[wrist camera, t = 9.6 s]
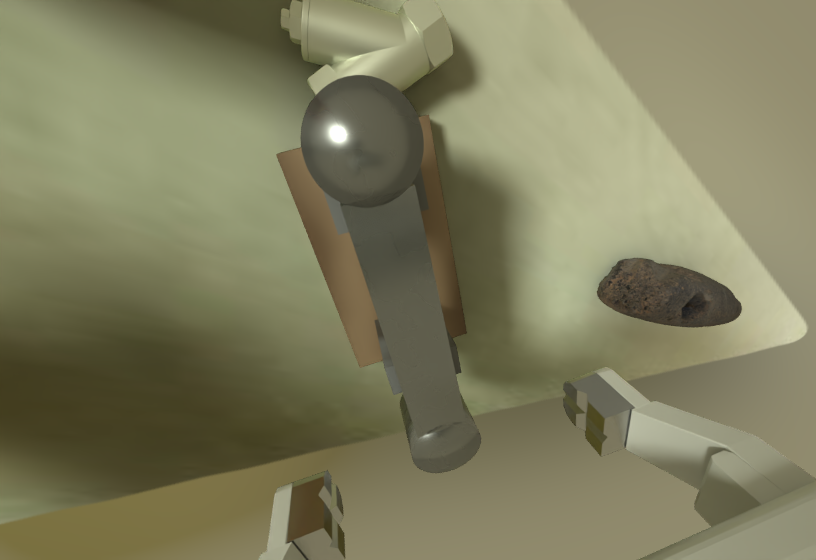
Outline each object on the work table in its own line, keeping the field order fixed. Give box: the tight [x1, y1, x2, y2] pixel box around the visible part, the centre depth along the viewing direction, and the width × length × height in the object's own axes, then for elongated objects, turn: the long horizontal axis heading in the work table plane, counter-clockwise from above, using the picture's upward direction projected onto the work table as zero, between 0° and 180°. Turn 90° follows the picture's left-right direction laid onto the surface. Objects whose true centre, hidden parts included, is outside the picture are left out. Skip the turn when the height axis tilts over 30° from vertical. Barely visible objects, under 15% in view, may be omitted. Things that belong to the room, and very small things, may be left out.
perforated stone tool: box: [597, 258, 742, 327], centre depth 30 cm, size 15×5×7 cm, turn 74°
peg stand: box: [276, 115, 467, 395], centre depth 22 cm, size 10×18×8 cm, turn 13°
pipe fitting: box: [281, 0, 453, 95], centre depth 18 cm, size 8×4×7 cm
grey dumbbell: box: [301, 75, 481, 473], centre depth 17 cm, size 4×22×4 cm, turn 14°
